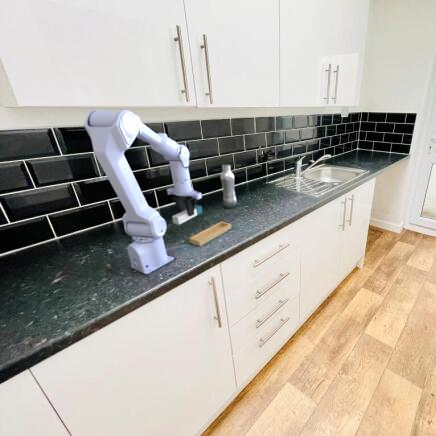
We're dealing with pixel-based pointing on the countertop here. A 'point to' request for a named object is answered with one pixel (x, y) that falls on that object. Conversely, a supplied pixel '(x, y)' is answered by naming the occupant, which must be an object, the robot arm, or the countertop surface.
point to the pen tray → (210, 233)
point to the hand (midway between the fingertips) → (188, 214)
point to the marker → (186, 215)
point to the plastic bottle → (228, 186)
